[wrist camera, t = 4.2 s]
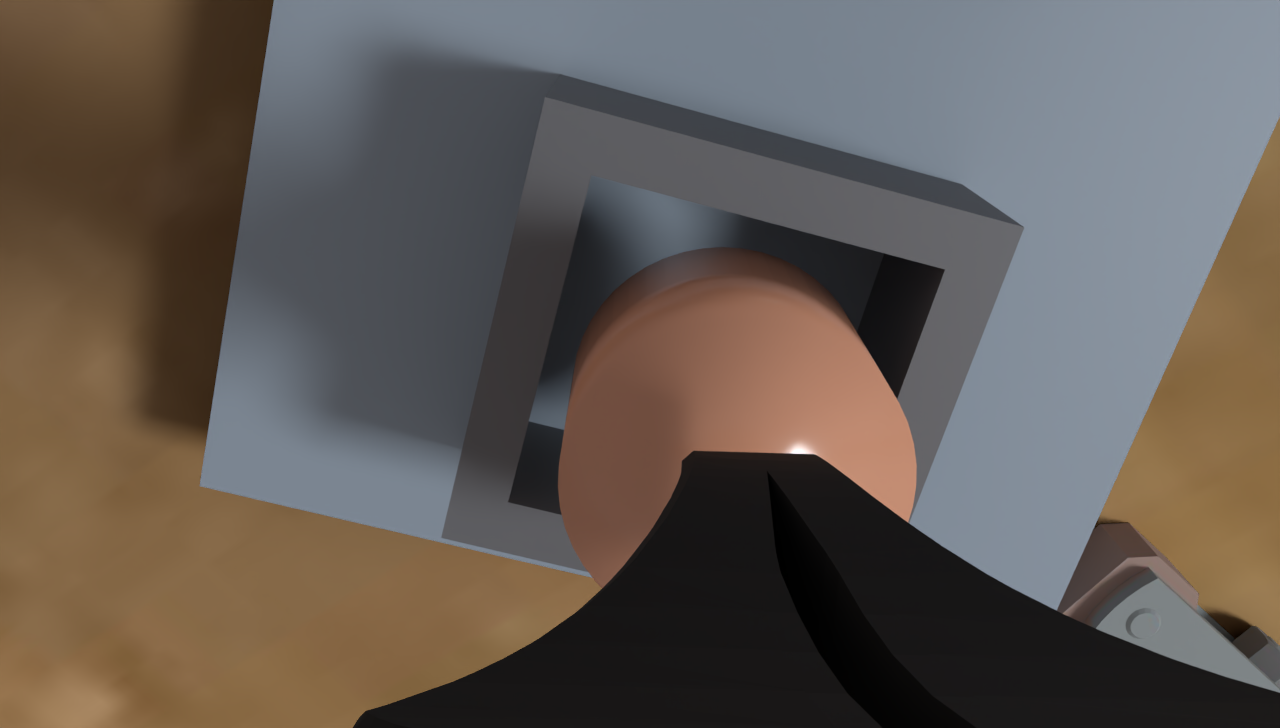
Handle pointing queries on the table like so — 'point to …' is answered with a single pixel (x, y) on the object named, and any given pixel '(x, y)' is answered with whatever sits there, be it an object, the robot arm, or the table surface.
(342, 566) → the table surface
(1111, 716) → the robot arm
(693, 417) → the terracotta plunger
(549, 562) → the panel
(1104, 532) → the clamp
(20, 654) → the table surface
